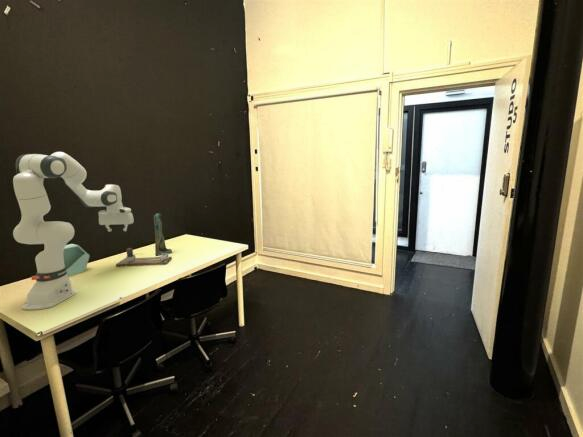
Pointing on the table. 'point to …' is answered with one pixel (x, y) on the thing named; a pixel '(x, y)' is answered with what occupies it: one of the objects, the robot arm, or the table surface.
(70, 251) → the planter
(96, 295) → the table surface
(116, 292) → the table surface
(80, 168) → the robot arm
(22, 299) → the table surface
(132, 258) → the divider leg
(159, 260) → the plate
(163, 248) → the statue
